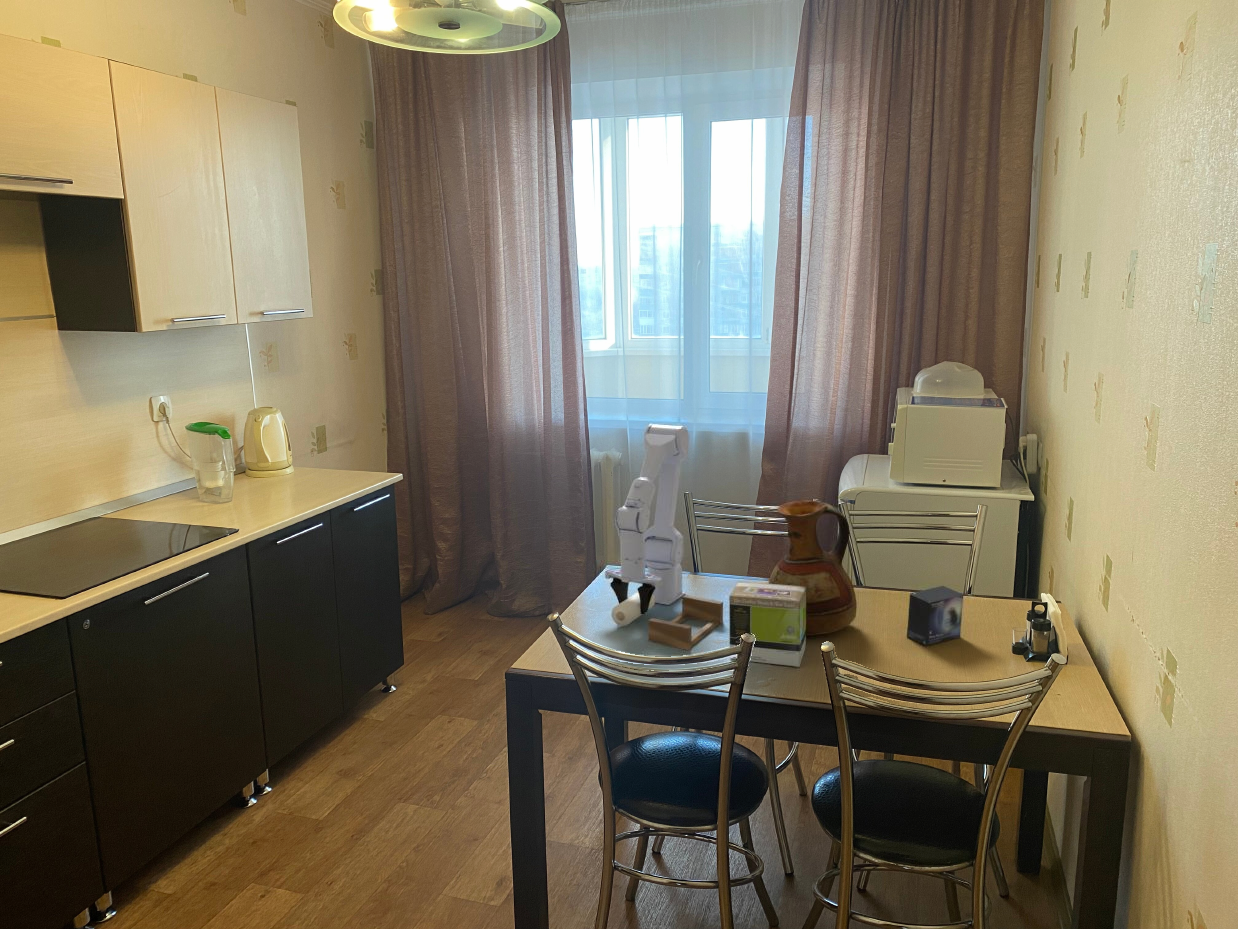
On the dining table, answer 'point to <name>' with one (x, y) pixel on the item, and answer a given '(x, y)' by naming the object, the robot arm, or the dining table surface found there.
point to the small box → (934, 615)
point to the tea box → (770, 621)
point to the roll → (629, 610)
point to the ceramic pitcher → (817, 567)
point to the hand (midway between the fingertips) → (634, 611)
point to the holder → (682, 634)
